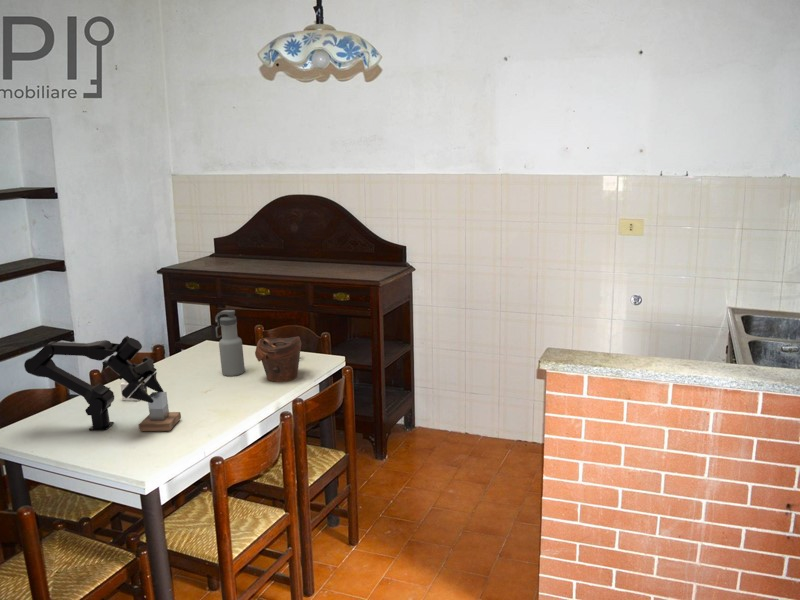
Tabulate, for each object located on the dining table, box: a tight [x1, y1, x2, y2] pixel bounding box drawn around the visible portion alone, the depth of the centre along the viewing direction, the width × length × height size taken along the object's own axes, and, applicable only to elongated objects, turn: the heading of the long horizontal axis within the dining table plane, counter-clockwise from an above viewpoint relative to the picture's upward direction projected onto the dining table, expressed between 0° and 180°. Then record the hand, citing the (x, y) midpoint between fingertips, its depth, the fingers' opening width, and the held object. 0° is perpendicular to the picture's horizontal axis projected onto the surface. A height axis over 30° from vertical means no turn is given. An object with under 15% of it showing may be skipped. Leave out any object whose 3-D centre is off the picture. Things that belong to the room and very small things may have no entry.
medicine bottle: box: [119, 380, 149, 402], centre depth 284 cm, size 7×7×12 cm
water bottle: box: [214, 309, 245, 377], centre depth 307 cm, size 10×10×28 cm
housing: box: [147, 391, 170, 421], centre depth 254 cm, size 5×5×9 cm
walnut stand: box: [138, 411, 182, 432], centre depth 255 cm, size 11×11×3 cm
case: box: [254, 336, 302, 383], centre depth 300 cm, size 18×20×18 cm
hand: (157, 397), depth 253 cm, fingers open, 9 cm apart
